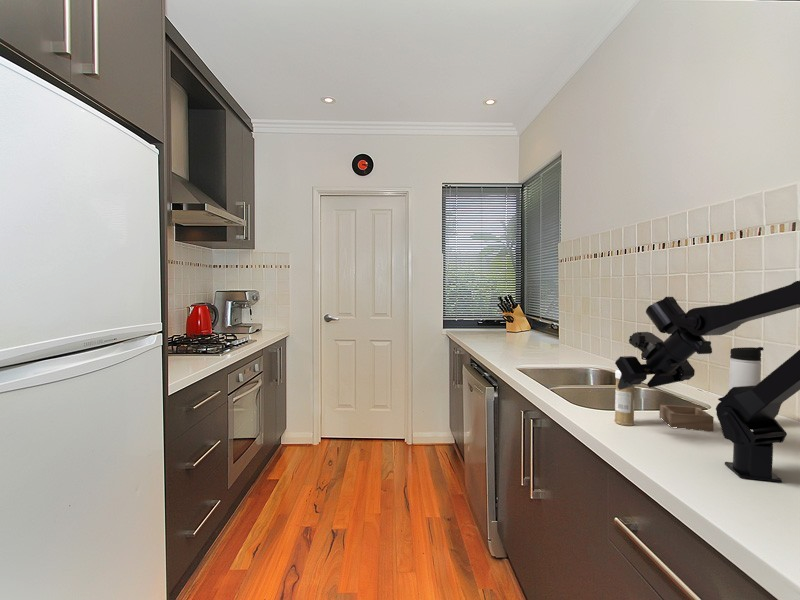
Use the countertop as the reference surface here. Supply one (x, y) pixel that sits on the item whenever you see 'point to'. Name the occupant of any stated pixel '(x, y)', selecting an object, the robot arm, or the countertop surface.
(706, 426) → the walnut collar
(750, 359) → the travel mug
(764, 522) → the countertop surface
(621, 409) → the sprinkles bottle
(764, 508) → the countertop surface
